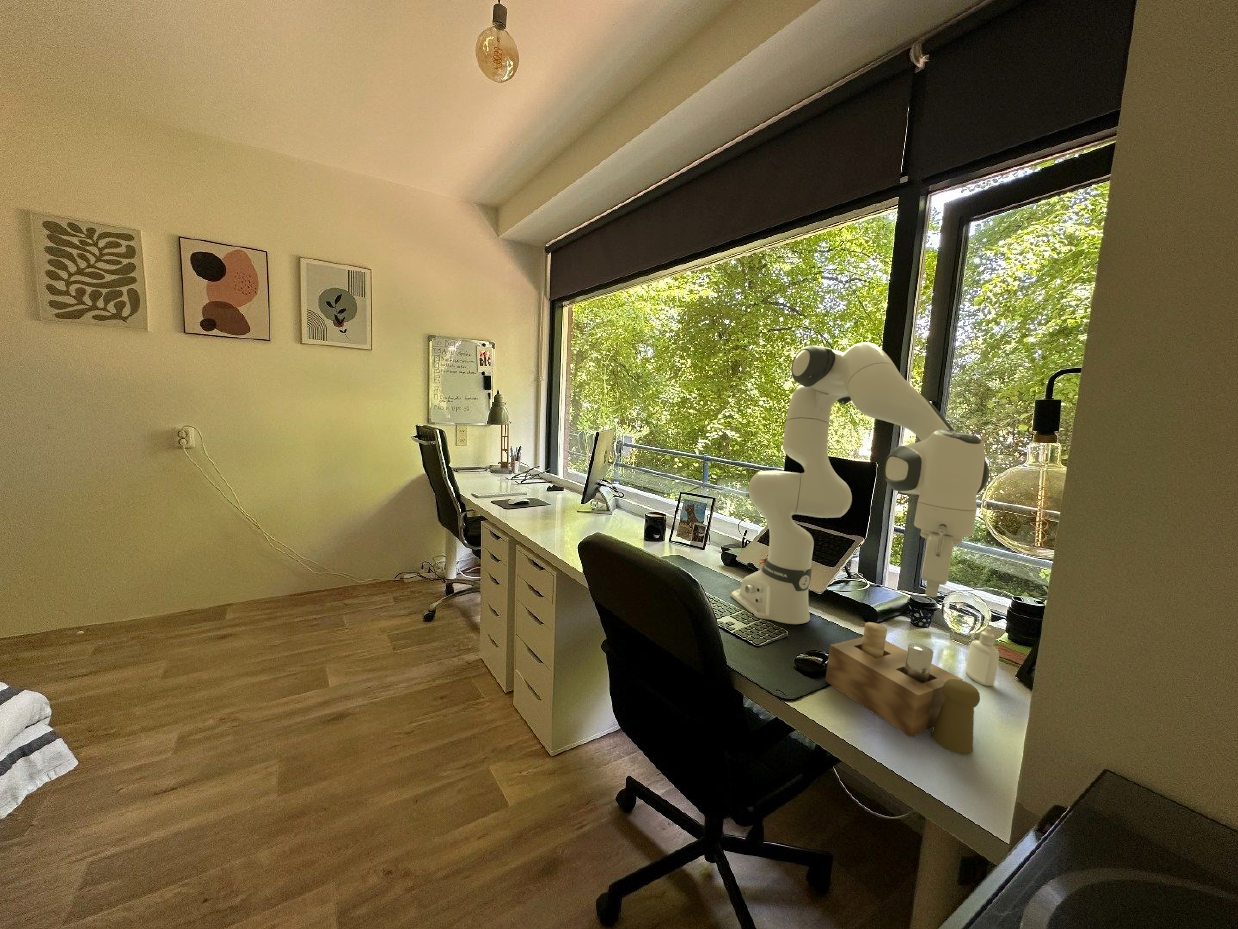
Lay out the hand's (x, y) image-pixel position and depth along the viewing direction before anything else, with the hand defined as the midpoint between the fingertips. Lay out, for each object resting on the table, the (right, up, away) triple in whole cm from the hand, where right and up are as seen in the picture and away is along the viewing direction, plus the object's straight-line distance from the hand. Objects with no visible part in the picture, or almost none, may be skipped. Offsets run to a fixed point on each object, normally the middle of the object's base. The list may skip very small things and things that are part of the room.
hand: (931, 594), depth 88 cm
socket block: (-4, -23, +7) cm, 24 cm away
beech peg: (-6, -17, +10) cm, 21 cm away
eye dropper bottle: (+22, -24, +18) cm, 37 cm away
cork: (+1, -25, -4) cm, 25 cm away
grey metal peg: (-2, -18, +3) cm, 18 cm away
